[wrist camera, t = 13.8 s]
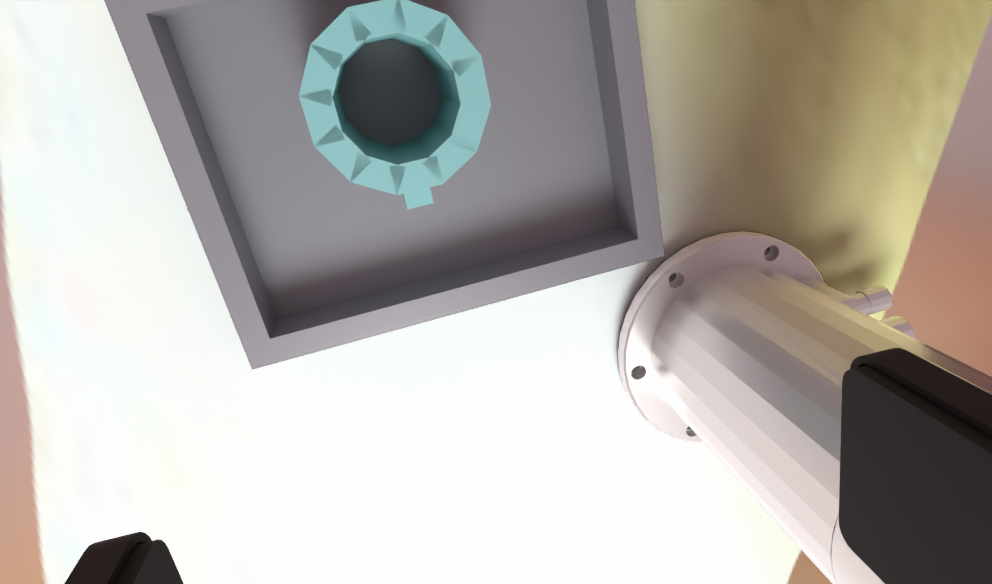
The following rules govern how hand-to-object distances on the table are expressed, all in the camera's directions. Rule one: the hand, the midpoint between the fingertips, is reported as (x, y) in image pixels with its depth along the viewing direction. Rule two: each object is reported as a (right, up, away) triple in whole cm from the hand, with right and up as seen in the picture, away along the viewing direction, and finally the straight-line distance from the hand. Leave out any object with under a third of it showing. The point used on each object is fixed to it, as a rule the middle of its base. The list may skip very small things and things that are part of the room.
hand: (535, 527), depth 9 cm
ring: (-5, +12, +20) cm, 24 cm away
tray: (-4, +11, +21) cm, 24 cm away
